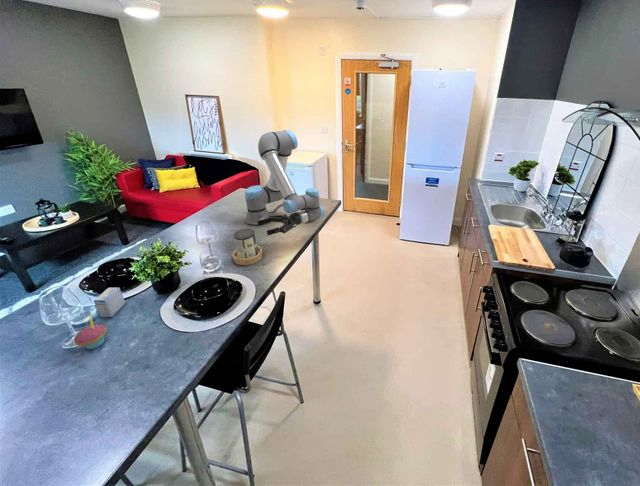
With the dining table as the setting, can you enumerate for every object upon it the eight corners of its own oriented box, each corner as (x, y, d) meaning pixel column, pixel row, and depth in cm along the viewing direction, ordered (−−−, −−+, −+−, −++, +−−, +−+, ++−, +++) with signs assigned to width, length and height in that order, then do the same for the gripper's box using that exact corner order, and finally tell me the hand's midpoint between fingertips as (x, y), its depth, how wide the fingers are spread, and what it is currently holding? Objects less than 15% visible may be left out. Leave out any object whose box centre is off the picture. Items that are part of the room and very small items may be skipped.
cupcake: (106, 330, 109) (94, 306, 104) (114, 341, 104) (102, 316, 99) (76, 346, 102) (62, 321, 97) (83, 358, 98) (69, 333, 93)
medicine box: (115, 303, 122) (107, 287, 118) (126, 303, 122) (119, 286, 118) (100, 317, 114) (92, 300, 111) (112, 317, 115) (105, 300, 111)
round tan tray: (245, 248, 163) (244, 242, 162) (267, 252, 160) (267, 247, 158) (227, 262, 151) (226, 256, 149) (251, 267, 147) (250, 261, 146)
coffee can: (246, 249, 161) (242, 227, 155) (262, 253, 158) (258, 230, 152) (233, 259, 152) (228, 236, 146) (249, 263, 149) (245, 239, 143)
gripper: (309, 232, 160) (272, 243, 147) (289, 216, 177) (255, 225, 165) (308, 220, 157) (270, 231, 144) (288, 205, 174) (253, 213, 162)
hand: (262, 228), depth 155 cm, fingers open, 13 cm apart
